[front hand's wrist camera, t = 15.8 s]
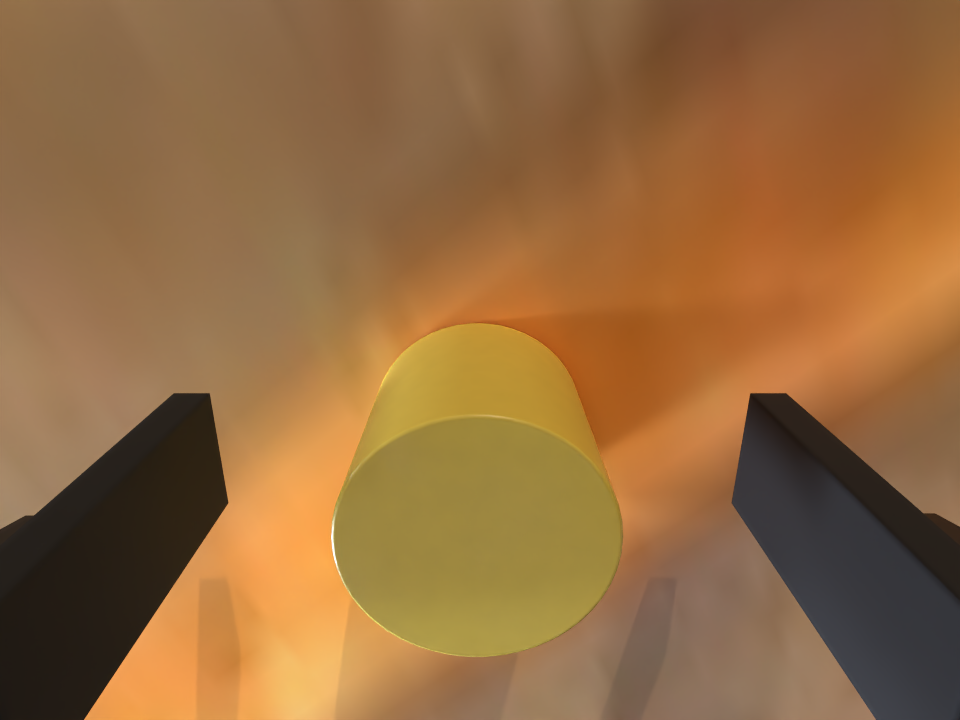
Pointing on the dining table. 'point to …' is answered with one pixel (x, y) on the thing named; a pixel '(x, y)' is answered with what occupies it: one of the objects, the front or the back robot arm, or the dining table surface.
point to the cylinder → (477, 498)
